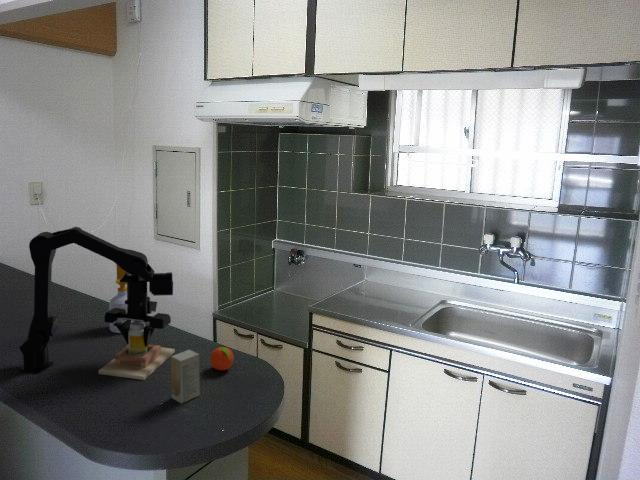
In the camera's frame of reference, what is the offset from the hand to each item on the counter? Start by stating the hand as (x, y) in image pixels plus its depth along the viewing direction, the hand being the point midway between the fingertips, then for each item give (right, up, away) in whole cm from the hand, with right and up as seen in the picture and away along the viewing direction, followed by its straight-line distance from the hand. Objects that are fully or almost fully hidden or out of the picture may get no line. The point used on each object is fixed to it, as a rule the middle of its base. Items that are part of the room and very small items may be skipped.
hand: (137, 345), depth 158 cm
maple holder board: (0, -6, +1) cm, 6 cm away
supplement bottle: (0, -3, +1) cm, 3 cm away
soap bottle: (-14, 0, +26) cm, 30 cm away
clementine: (+26, -8, -1) cm, 27 cm away
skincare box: (+19, -11, -18) cm, 28 cm away
